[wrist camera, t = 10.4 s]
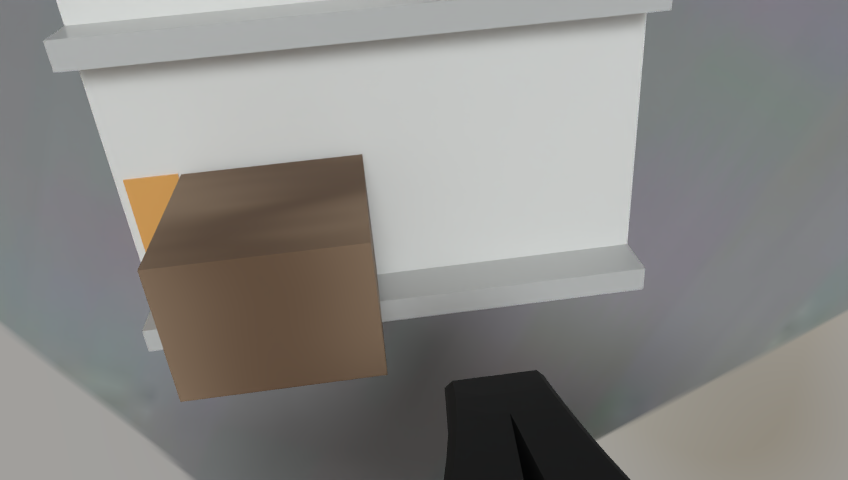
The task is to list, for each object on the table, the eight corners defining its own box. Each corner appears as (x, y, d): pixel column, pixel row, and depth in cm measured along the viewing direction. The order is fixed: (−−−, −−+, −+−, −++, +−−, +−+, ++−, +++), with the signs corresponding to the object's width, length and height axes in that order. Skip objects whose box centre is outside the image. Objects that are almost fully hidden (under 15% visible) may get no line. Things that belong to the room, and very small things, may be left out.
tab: (362, 154, 16) (371, 242, 12) (376, 267, 17) (387, 374, 14) (180, 174, 15) (137, 270, 12) (211, 287, 17) (180, 401, 13)
